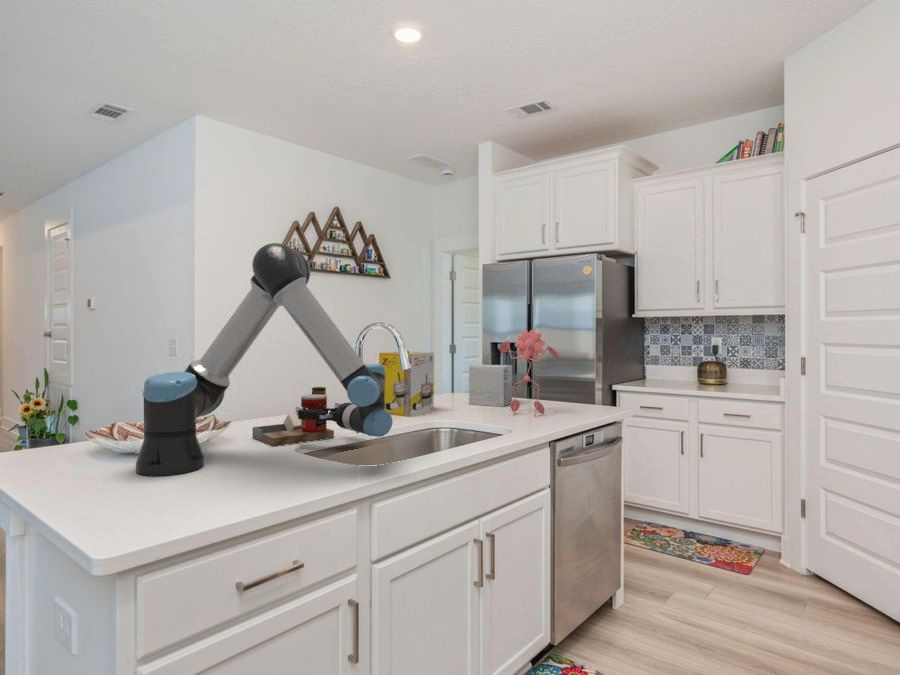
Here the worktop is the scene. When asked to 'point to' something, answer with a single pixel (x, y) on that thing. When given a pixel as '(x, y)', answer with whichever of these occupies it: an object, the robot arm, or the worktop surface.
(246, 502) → the worktop surface
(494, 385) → the supplement box
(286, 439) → the board
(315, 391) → the condiment
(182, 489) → the worktop surface
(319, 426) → the canned food
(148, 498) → the worktop surface
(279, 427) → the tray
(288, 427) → the off-white block
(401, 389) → the packaging box
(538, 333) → the pink wire stick figure
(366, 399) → the robot arm
